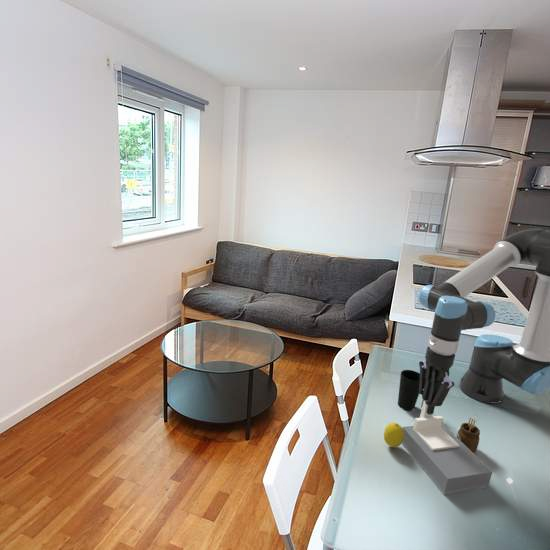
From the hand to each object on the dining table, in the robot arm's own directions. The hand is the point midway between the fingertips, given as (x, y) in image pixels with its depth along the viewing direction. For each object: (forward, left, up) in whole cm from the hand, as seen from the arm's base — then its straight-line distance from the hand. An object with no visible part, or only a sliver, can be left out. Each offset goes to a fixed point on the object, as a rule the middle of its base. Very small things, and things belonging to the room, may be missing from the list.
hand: (424, 420), depth 115 cm
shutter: (0, +5, -2) cm, 6 cm away
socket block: (0, +9, -7) cm, 12 cm away
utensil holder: (-12, +5, -7) cm, 15 cm away
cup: (-6, -17, -7) cm, 19 cm away
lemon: (+11, +1, -7) cm, 13 cm away
